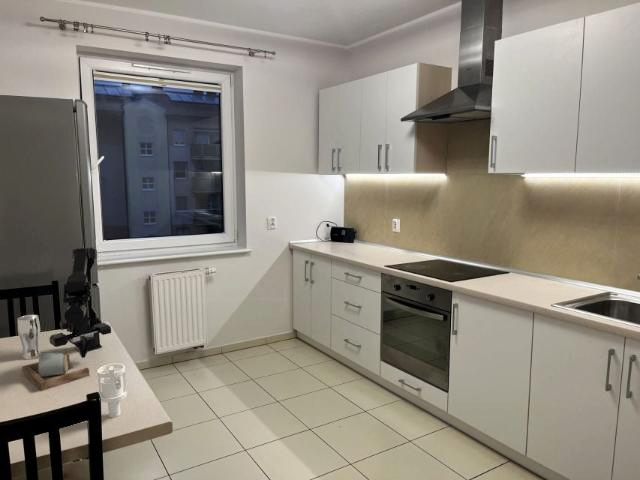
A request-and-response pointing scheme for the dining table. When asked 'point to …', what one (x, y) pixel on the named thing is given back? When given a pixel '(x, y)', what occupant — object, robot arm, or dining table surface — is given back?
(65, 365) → the ceramic mug
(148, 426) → the dining table surface
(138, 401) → the dining table surface
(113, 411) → the strainer
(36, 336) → the beer glass
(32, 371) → the walnut bay
